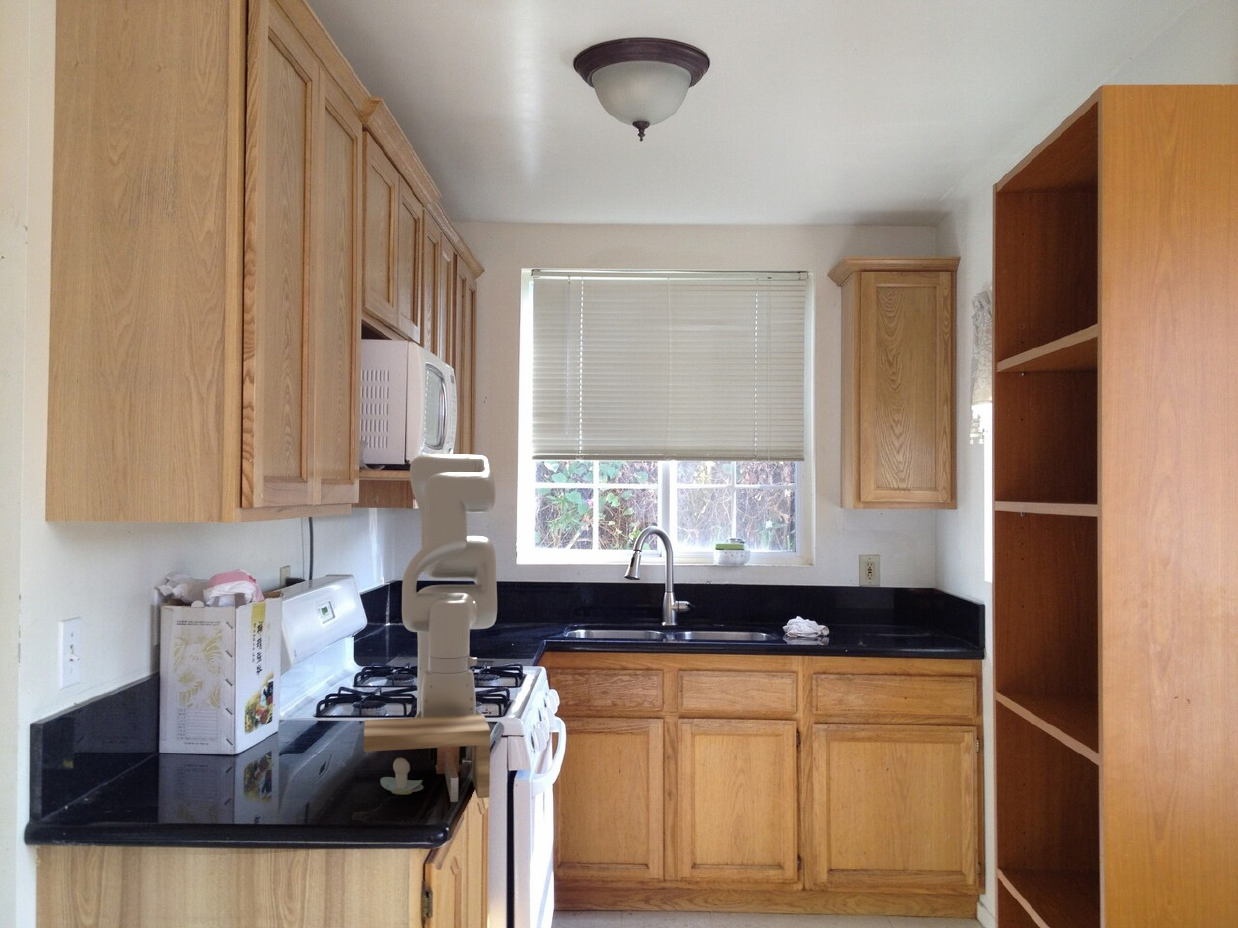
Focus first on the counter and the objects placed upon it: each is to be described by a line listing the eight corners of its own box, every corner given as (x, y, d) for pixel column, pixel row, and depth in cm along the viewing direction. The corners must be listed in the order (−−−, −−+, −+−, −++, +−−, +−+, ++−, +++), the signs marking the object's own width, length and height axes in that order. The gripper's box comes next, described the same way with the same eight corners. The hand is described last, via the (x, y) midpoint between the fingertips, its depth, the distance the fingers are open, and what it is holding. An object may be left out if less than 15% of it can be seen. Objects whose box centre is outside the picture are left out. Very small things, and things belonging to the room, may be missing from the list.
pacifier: (391, 785, 170) (376, 794, 164) (393, 749, 170) (377, 758, 164) (430, 788, 168) (415, 798, 162) (431, 752, 168) (416, 761, 163)
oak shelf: (363, 785, 169) (364, 720, 169) (482, 777, 174) (483, 714, 174) (362, 805, 158) (363, 736, 158) (489, 797, 163) (490, 730, 163)
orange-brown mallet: (435, 767, 179) (436, 719, 180) (457, 766, 180) (458, 718, 181) (442, 802, 160) (443, 748, 160) (466, 800, 161) (467, 747, 161)
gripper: (491, 659, 184) (490, 754, 184) (402, 662, 180) (401, 759, 180) (495, 667, 177) (494, 766, 176) (403, 670, 173) (401, 771, 172)
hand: (447, 761), depth 178 cm, fingers closed on orange-brown mallet, 4 cm apart
